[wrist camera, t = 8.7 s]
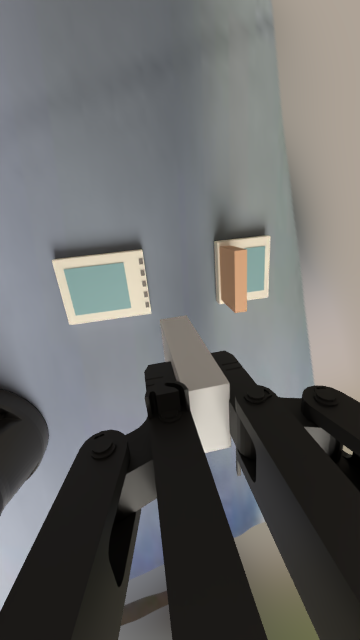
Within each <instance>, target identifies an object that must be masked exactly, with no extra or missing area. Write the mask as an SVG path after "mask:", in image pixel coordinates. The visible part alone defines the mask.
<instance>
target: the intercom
mask: <svg viewBox="0 0 360 640" xmlns="http://www.w3.org/2000/svg"><path fill="white" fill-rule="evenodd" d="M214 251H215V275H216V299H217V302H218V303H219V304H226V305H227V306H228V307H229V308H231V309H232V310H233V311H234V312H235V313H238V312H245V311H247V300H253V299H260V298H267V297H268V286H269V259H270V236H266V235H265V236H256V237H247V238H238V239H229V240H220V241H214Z"/></svg>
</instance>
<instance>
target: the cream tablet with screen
mask: <svg viewBox="0 0 360 640" xmlns="http://www.w3.org/2000/svg"><path fill="white" fill-rule="evenodd" d="M52 263H53V267H54V270H55V274H56V277H57V281H58V285H59V288H60V292H61V296H62V299H63V303H64V307H65V310H66V314H67V317H68V321H69V325H73V324H80V323H87V322H94V321H101V320H109V319H116V318H123V317H130V316H137V315H144V314H151V308H150V301H149V294H148V287H147V280H146V273H145V266H144V259H143V252H142V249H139V250H130V251H121V252H112V253H103V254H95V255H86V256H77V257H68V258H59V259H54V260H52Z"/></svg>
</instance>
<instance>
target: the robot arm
mask: <svg viewBox="0 0 360 640" xmlns="http://www.w3.org/2000/svg"><path fill="white" fill-rule="evenodd" d="M160 325H161V333H162V340H163V348H164V356H165V362H163V363H157V364H152V365H148V367H147V369H146V370H145V372H144V373H145V382H146V391H147V392H146V394H145V402H146V407H147V413H148V417H147V419H146V421H145V422H144V423H143V424H142V425H141V426H140V427H139V428H138V429H136V430H134V431H133V432H131V433H129V434H127V435H124V434H123V433H121V432H119V431H116V430H106V431H101V432H99V433H97V434H95V435H93V436H92V437H90V438H89V439H88V440H87V441H85V443H84V444H83V445H82V447H81V448H80V450H79V452H78V454H77V456H76V458H75V460H74V462H73V464H72V466H71V468H70V470H69V472H68V474H67V476H66V479H65V481H64V483H63V485H62V487H61V489H60V491H59V493H58V495H57V497H56V499H55V501H54V503H53V505H52V507H51V509H50V511H49V513H48V515H47V517H46V519H45V521H44V523H43V525H42V527H41V529H40V532H39V534H38V536H37V538H36V540H35V542H34V544H33V546H32V548H31V550H30V552H29V554H28V556H27V558H26V560H25V562H24V564H23V566H22V568H21V570H20V572H19V574H18V576H17V578H16V580H15V583H14V585H13V587H12V589H11V591H10V593H9V595H8V597H7V599H6V601H5V603H4V605H3V607H2V609H1V611H0V640H118V637H119V631H120V626H121V620H122V615H123V609H124V603H125V598H126V592H127V587H128V581H129V575H130V570H131V564H132V559H133V553H134V547H135V542H136V536H137V531H138V525H139V519H140V514H141V508H142V507H144V506H145V505H147V504H148V503H150V502H151V501H153V500H155V499H156V498H157V501H158V510H159V520H160V529H161V538H162V547H163V557H164V565H165V575H166V584H167V594H168V603H169V612H170V621H171V630H172V639H173V640H268V639H267V636H266V634H265V630H264V627H263V624H262V621H261V619H260V616H259V613H258V610H257V607H256V604H255V601H254V598H253V595H252V592H251V589H250V586H249V583H248V580H247V577H246V574H245V571H244V568H243V565H242V562H241V559H240V556H239V553H238V550H237V547H236V544H235V542H234V538H233V536H232V533H231V530H230V527H229V524H228V521H227V518H226V515H225V512H224V509H223V506H222V503H221V500H220V497H219V494H218V491H217V488H216V485H215V482H214V479H213V476H212V473H211V470H210V467H209V464H208V461H207V458H206V455H205V453H207V452H211V451H216V450H220V449H224V448H229V447H231V437H232V439H233V441H234V443H235V445H236V471H237V475H238V476H240V475H241V469H242V471H243V473H244V475H245V478H246V480H247V482H248V484H249V486H250V489H251V491H252V493H253V495H254V497H255V499H256V502H257V504H258V506H259V508H260V510H261V512H262V515H263V517H264V519H265V521H266V523H267V526H268V528H269V530H270V532H271V534H272V536H273V539H274V541H275V543H276V545H277V547H278V549H279V552H280V554H281V556H282V558H283V560H284V563H285V565H286V567H287V569H288V571H289V573H290V576H291V578H292V579H293V582H294V584H295V587H296V589H297V591H298V593H299V595H300V597H301V599H302V602H303V604H304V606H305V608H306V611H307V613H308V615H309V617H310V619H311V621H312V624H313V626H314V628H315V630H316V632H317V634H318V636H319V639H320V640H360V402H358V401H356V400H354V399H353V398H351V397H349V396H347V395H346V394H344V393H342V392H340V391H338V390H335V389H333V388H330V387H326V386H311V387H307V388H306V389H305V390H304V391H303V394H302V398H281V397H278V396H277V395H276V394H275V393H274V392H273V391H271V390H270V389H269V388H266V387H264V386H260V385H257V384H256V383H255V382H254V381H253V379H252V378H251V377H250V376H249V374H248V373H247V372H246V371H245V369H244V368H242V366H241V364H240V363H238V361H237V359H236V358H235V357H234V356H233V355H232V354H230V353H228V352H226V351H220V352H214V353H210V352H209V350H208V349H207V347H206V345H205V344H204V342H203V341H202V339H201V338H200V336H199V334H198V333H197V331H196V330H195V328H194V327H193V325H192V323H191V322H190V320H189V319H188V317H187V316H180V317H174V318H167V319H161V320H160ZM48 439H49V434H48V428H47V425H46V422H45V420H44V419H43V417H42V415H41V414H40V413H39V411H38V410H37V409H36V408H35V407H34V406H33V405H31V404H30V403H29V402H28V401H26V400H25V399H23V398H21V397H19V396H18V395H16V394H13V393H11V392H8V391H6V390H2V389H0V515H1V513H2V511H3V509H4V508H5V506H6V505H7V504H8V502H9V501H10V500H11V499H12V497H13V496H14V495H15V494H16V492H17V491H18V490H19V489H20V487H21V486H22V485H23V484H24V482H25V481H26V480H28V479H29V478H30V477H31V475H32V474H33V473H34V472H35V471H36V469H37V468H38V466H39V464H40V463H41V460H42V458H43V455H44V453H45V450H46V448H47V445H48ZM343 445H345V446H346V447H347V448H349V449H350V450H351V451H353V455H350V454H348V453H346V452H344V451H343V450H342V449H343Z"/></svg>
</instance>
